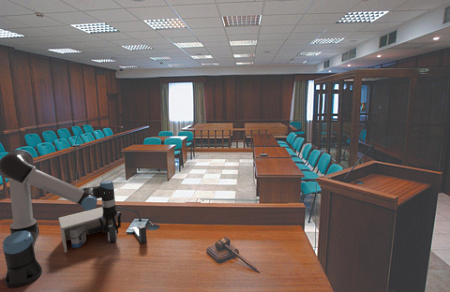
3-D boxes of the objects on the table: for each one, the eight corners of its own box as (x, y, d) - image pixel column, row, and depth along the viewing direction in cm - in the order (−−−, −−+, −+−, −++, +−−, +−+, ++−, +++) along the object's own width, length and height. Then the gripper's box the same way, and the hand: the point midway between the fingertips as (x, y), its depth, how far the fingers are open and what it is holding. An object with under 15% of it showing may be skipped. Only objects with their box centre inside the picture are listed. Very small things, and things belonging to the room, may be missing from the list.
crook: (116, 241, 165) (114, 225, 163) (94, 248, 157) (92, 231, 155) (108, 227, 182) (106, 213, 180) (88, 233, 174) (86, 218, 172)
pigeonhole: (117, 236, 172) (115, 213, 169) (64, 252, 154) (61, 228, 151) (111, 226, 185) (108, 205, 182) (62, 240, 168) (58, 217, 164)
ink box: (79, 247, 159) (77, 230, 157) (71, 247, 160) (69, 230, 157) (86, 240, 168) (84, 223, 166) (79, 240, 168) (77, 223, 166)
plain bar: (146, 242, 164) (145, 226, 162) (141, 244, 162) (140, 228, 160) (136, 230, 180) (135, 215, 178) (131, 231, 178) (130, 216, 176)
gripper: (120, 200, 168) (124, 232, 173) (93, 206, 158) (97, 241, 163) (124, 203, 162) (127, 237, 167) (95, 211, 152) (99, 246, 157)
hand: (112, 239), depth 165 cm, fingers closed on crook, 3 cm apart
